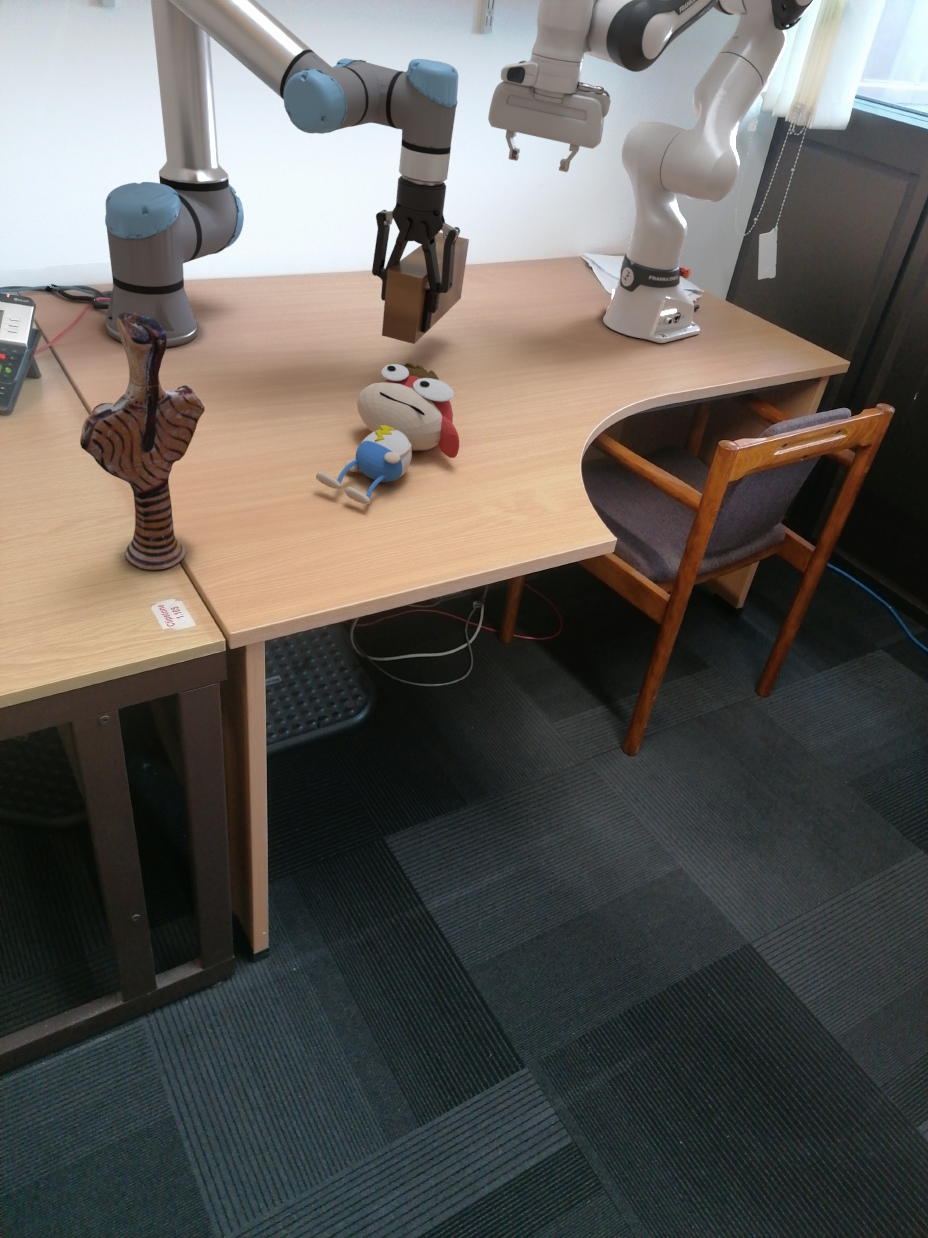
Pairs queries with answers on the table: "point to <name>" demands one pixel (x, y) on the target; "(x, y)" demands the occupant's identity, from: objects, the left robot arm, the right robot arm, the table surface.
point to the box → (419, 291)
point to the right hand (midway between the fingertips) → (538, 164)
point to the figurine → (145, 440)
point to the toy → (399, 425)
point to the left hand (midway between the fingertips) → (407, 324)
